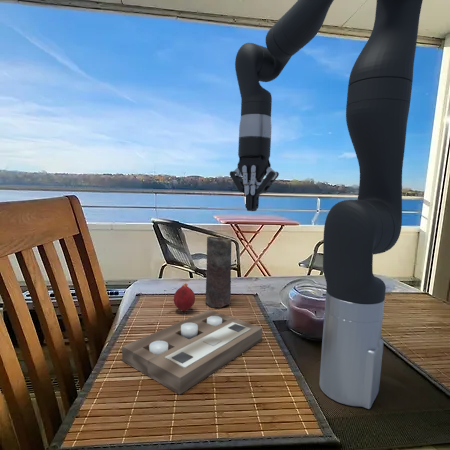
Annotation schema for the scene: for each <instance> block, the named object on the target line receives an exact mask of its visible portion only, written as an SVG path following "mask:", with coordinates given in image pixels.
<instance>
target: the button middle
mask: <svg viewBox="0 0 450 450" xmlns="http://www.w3.org/2000/svg"><path fill="white" fill-rule="evenodd" d="M181 336H183V337H185V338H187V339H192V338H194V337H196V336H198V325H197V324H195V323H184V324H182V325H181Z"/></svg>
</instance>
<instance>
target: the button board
mask: <svg viewBox="0 0 450 450" xmlns="http://www.w3.org/2000/svg"><path fill="white" fill-rule="evenodd" d="M210 316H219V317H221V318H222V324H220V325H218V326H213V325H210V324H208V323H207V318H208V317H210ZM184 323H195V324H197V325H198V336H196V337H194V338H192V339H187V338H185V337H183V336H181V325H182V324H184ZM262 340H263V327H262V326H259V325H256V324H253V323H250V322H248V321H244V320H241V319H238V318H235V317H233V316H229V315H226V314H223V313H221V312H218V311H215V310H212V309H207V310H205V311H202V312H200V313H198V314H195V315H193V316H190V317H188V318H187V319H184V320H181V321H178V322H177V323H174V324H171V325H169V326H167V327H164V328H163V329H160V330H157V331H155V332H153V333H151V334H148V335H146V336H143V337H142V338H141V337H140V338H139V339H136V340H134V341H132V342H129V343H127V344H125V345H122V347H121V348H122V349H121V351H122V352H121V353H122V355H121V359H122V362H123V363H125V364H127V365H129V366H130V367H132V368H134V369H136V370H137V371H138V372H140V373H142V374H144V375H146V376H147V377H149V378H151V379H152V380H154V381H156V383H159V384H161V385H162V386H164V387H165V388H167V389H170V390H171V391H173V392H174V393H176V394H177V395H182V394H183V393H185V392H186V391H189V389H190V388H193V387H194V386H195V385H197V384H199V383H201V381H203V380H204V379H205V378H207V377H209V376H210V375H212V374H213V373H215V372H216V371H218V370H219V369H221V368H222V367H224V366H225V365H227V364H228V363H230V362H231V361H233V360H235V359H236V358H237V357H240V356H241V355H242V354H244V353H245V352H246V351H248V350H249V349H251V348H252V347H254V346H255V345H257V344H259V343H260V342H261V341H262ZM154 341H165V342H167V343H168V350H167V351H165V352H163V353H161V354H159V355H156V354H154V353H152V352H150V351H149V345H150V344H151V343H152V342H154Z"/></svg>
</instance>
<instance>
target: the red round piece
mask: <svg viewBox="0 0 450 450" xmlns="http://www.w3.org/2000/svg"><path fill="white" fill-rule="evenodd" d="M195 302H196V296H195V292H194V291H193V289H191V288H190V287H189V286H188V284H187V283H186V282H184V283H183V284H182V285H181V287H179V288H177V289H176V291H175V292H174V297H173V303H174V305H175V307H176V308H177V309H178V310H180V311H181V312H184V313H185V312H187V311H188V310H190V309H191V308H192V307H193V306H194V304H195Z"/></svg>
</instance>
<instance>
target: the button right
mask: <svg viewBox="0 0 450 450" xmlns="http://www.w3.org/2000/svg"><path fill="white" fill-rule="evenodd" d="M207 323H208V324H210V325H213V326H218V325H220V324H222V318H221V317H219V316H210V317H208V318H207Z"/></svg>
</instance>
